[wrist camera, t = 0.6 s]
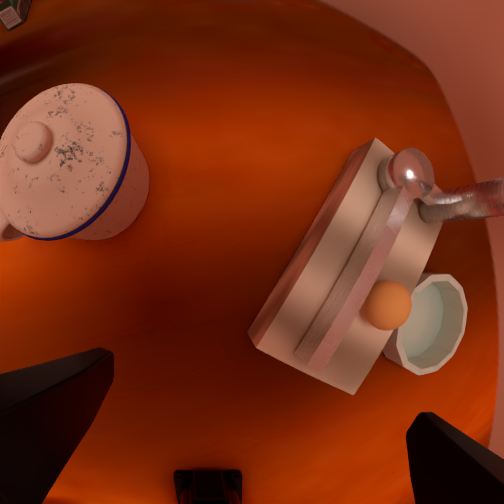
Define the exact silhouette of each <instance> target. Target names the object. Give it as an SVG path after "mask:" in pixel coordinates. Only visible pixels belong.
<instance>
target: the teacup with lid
mask: <svg viewBox="0 0 504 504" xmlns="http://www.w3.org/2000/svg"><path fill="white" fill-rule="evenodd" d="M148 191H149V170H148V166H147V163H146V160H145V158H144V156H143V154H142V152H141V150H140V149H139V147H138V145H137V143H136V142H135V140H134V138H133V136H132V135H131V133H130V128H129V124H128V120H127V118H126V115H125V113H124V111H123V109H122V108H121V106H120V105H119V103H118V102H117V101H116V100H115V99H114V98H113V97H112V96H111V95H110V94H108V93H107V92H105V91H103V90H101V89H99V88H97V87H94V86H91V85H87V84H79V83H74V84H64V85H60V86H56V87H53V88H50V89H48V90H46V91H44V92H42V93H40V94H39V95H37V96H36V97H34V98H33V99H31V100H30V101H29V102H28V103H27V104H25V105H24V106H23V107H22V108H21V109H20V110H19V111H18V113H17V114H16V115H15V116H14V117H13V119H12V120H11V122H10V123H9V125H8V126H7V128H6V130H5V131H4V133H3V135H2V138H1V140H0V241H12V240H16V239H19V238H22V237H24V236H28V237H30V238H33V239H37V240H46V241H50V240H59V239H63V238H73V239H85V240H102V239H106V238H110V237H112V236H115V235H117V234H119V233H120V232H122V231H123V230H125V229H126V228H127V227H128V226H130V225H131V224H132V223H133V221H134V220H135V219H136V218H137V216H138V215H139V214H140V212H141V210H142V208H143V206H144V204H145V202H146V199H147V195H148Z"/></svg>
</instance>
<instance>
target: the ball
mask: <svg viewBox="0 0 504 504" xmlns="http://www.w3.org/2000/svg"><path fill="white" fill-rule="evenodd" d="M411 308H412V301H411V297H410V294H409V292H408V291H407V289H406V288H405V287H404V286H403V285H401V284H400V283H398V282H395V281H382V282H379V283H377V284H376V285H374V286H373V287H372V288H371V290H370V292H369V294H368V296H367V298H366V299H365V301H364V313H365V316H366V318H367V320H368V321H369V323H370V324H371V325H372V326H374V327H375V328H377V329H380V330H385V331H389V330H394V329H396V328H398V327H400V326H401V325H403V324H404V323H405V322H406V320H407V319H408V317H409V315H410V312H411Z"/></svg>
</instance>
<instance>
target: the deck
mask: <svg viewBox="0 0 504 504" xmlns="http://www.w3.org/2000/svg"><path fill="white" fill-rule="evenodd" d="M394 154H395V153H393V152H392V151H391V150H390V149H389V148H388V147H386V146H385V145H384V144H383V143H382V142H380V141H379V140H378V139H377V138H376V137H375V138H374V139H372V140H370V141H369V142H367V143H366V144H364V145H362V146H361V147H359V148H357V149H356V150H354V151H353V152H352V153H351V155H350V157H349V159H348V161H347V163H346V164H345V166H344V168H343V170H342V172H341V174H340V175H339V177H338V179H337V181H336V183H335V184H334V186H333V188H332V190H331V192H330V193H329V195H328V197H327V199H326V200H325V202H324V204H323V206H322V207H321V209H320V211H319V213H318V214H317V216H316V218H315V220H314V221H313V223H312V225H311V227H310V228H309V230H308V232H307V234H306V235H305V237H304V239H303V240H302V242H301V244H300V246H299V247H298V249H297V251H296V252H295V254H294V256H293V257H292V259H291V261H290V262H289V264H288V266H287V268H286V269H285V271H284V273H283V274H282V276H281V278H280V279H279V281H278V283H277V284H276V286H275V287H274V289H273V291H272V292H271V294H270V296H269V297H268V299H267V301H266V302H265V304H264V306H263V307H262V309H261V310H260V312H259V314H258V315H257V317H256V318H255V320H254V322H253V323H252V325H251V327H250V328H249V330H248V331H247V334H248V335H249V337H250V339H251V340H252V342H253V344H254V346H255V347H256V348H257V349H259V350H261V351H263V352H265V353H267V354H269V355H270V356H272V357H274V358H276V359H278V360H280V361H282V362H284V363H286V364H288V365H290V366H292V367H294V368H296V369H298V370H300V371H302V372H304V373H306V374H309V375H311V376H313V377H315V378H317V379H319V380H321V381H323V382H325V383H328V384H330V385H332V386H334V387H336V388H338V389H341V390H343V391H345V392H347V393H350V394H352V395H354V394H355V392H356V391H357V389H358V388H359V386H360V385H361V383H362V382H363V380H364V379H365V377H366V376H367V374H368V372H369V371H370V369H371V368H372V366H373V364H374V363H375V361H376V359H377V358H378V356H379V354H380V353H381V351H382V349H383V348H384V346H385V344H386V342H387V341H388V339H389V337H390V335H391V334H392V332H393V330H389V331H385V330H380V329H377V328H375V327H374V326H372V325H371V324H370V323H369V321H368V320H367V318H366V316H365V313H364V303H363V305H362V307H361V308H360V310H359V312H358V314H357V316H356V317H355V319H354V321H353V322H352V324H351V326H350V328H349V329H348V331H347V333H346V334H345V336H344V338H343V339H342V341H341V343H340V344H339V346H338V348H337V349H336V351H335V352H334V354H333V356H332V357H331V359H330V360H329V362H328V363H327V365H326V367H325V368H324V370H323V371H322V373H321V372H319V371H317V370H315V369H313V368H311V367H309V366H307V365H306V364H305V363H304V362H303V361H302V360H301V359H300V358H299V357H298V356H297V355H296V354H295V353H294V352H295V351H296V349H297V348H298V346H299V345H300V343H301V341H302V340H303V338H304V337H305V335H306V333H307V332H308V330H309V329H310V327H311V325H312V324H313V322H314V320H315V319H316V317H317V315H318V314H319V312H320V310H321V309H322V307H323V305H324V304H325V302H326V300H327V298H328V297H329V295H330V293H331V292H332V290H333V288H334V286H335V285H336V283H337V281H338V279H339V277H340V276H341V274H342V272H343V270H344V268H345V267H346V265H347V263H348V261H349V259H350V257H351V256H352V254H353V252H354V250H355V248H356V246H357V244H358V242H359V240H360V238H361V237H362V235H363V233H364V231H365V229H366V227H367V225H368V223H369V221H370V219H371V217H372V215H373V213H374V211H375V209H376V207H377V205H378V203H379V200H380V198H381V196H382V194H383V192H384V190H383V189H382V187H381V184H380V181H379V168H380V165H381V163H382V161H383V160H384V159H385V158H387V157H389V156H391V155H394ZM420 201H421V199H420V198H416V199H414V200H413V202H412V204H411V207H410V209H409V211H408V214H407V216H406V218H405V221H404V223H403V225H402V227H401V230H400V232H399V234H398V236H397V238H396V240H395V242H394V245H393V247H392V249H391V251H390V253H389V255H388V257H387V259H386V261H385V263H384V265H383V267H382V269H381V271H380V273H379V275H378V277H377V279H376V281H375V283H374V285H376V284H377V283H379V282H382V281H395V282H398V283H400V284H401V285H403V286H404V287H405V288H406V289H407V291H408V292H409V294H410V297H411V295H412V293H413V291H414V289H415V287H416V285H417V283H418V281H419V278H420V276H421V274H422V272H423V270H424V267H425V265H426V263H427V260H428V258H429V256H430V253H431V251H432V249H433V246H434V244H435V241H436V239H437V236H438V234H439V231H440V228H441V226H442V223H443V222H439V223H428V222H426V221H425V220H424V219H423V217H422V215H421V213H420ZM374 285H373V286H374ZM373 286H372V287H373Z"/></svg>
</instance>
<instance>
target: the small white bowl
mask: <svg viewBox="0 0 504 504" xmlns="http://www.w3.org/2000/svg"><path fill="white" fill-rule="evenodd" d="M411 301H412V308H411V312H410V315H409V317H408V319H407V320H406V322H405V323H404V324H403V325H401V326H400V327H398V328H396V329H394V330H393V332H392V334H391V335H390V337H389V339H388V341H387V342H386V344H385V346H384V348H383V349H382V352H383V354H384V355H385V357H386V358H388V359H390V360H392V361H393V362H395V363H397V364H399V365H401V366H402V367H404V368H406V369H408V370H410V371H412V372H413V373H415V374H417V375H423V374H427V373H431V372H434V371H437V370H438V369H439V368H441V367H442V366H443V365H444V364H445V363H446V362H447V361H448V360H449V359H450V358H451V357H452V356H453V355H454V353H455V351H456V349H457V347H458V345H459V343H460V341H461V339H462V337H463V335H464V332H465V325H466V317H467V304H466V300H465V295H464V291H463V288H462V286H461V285H460V284H459V283H458V282H457V281H456V280H455V279H454V278H453V277H452V276H451V275H449V274H440V273H430V272H422V274H421V276H420V278H419V281H418V283H417V285H416V287H415V289H414V291H413V293H412V295H411Z"/></svg>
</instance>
